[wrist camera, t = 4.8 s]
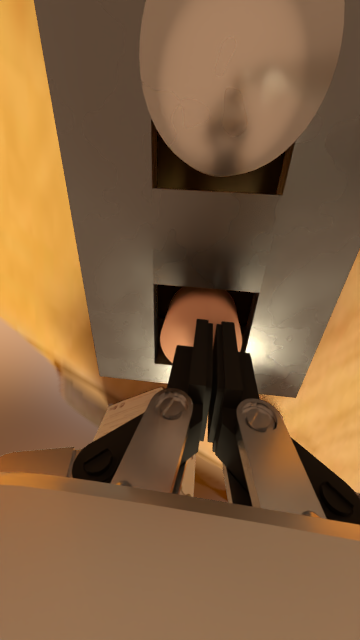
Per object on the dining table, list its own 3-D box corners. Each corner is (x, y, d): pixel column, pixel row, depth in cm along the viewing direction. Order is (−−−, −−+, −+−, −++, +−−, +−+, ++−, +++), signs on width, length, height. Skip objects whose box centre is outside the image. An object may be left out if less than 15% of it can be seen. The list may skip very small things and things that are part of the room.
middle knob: (313, 3, 6) (385, -120, 4) (275, 179, 8) (305, 179, 6) (163, 2, 7) (134, -111, 4) (162, 173, 9) (142, 171, 6)
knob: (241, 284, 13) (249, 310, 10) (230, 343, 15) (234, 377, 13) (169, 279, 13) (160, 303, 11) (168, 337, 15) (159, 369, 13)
